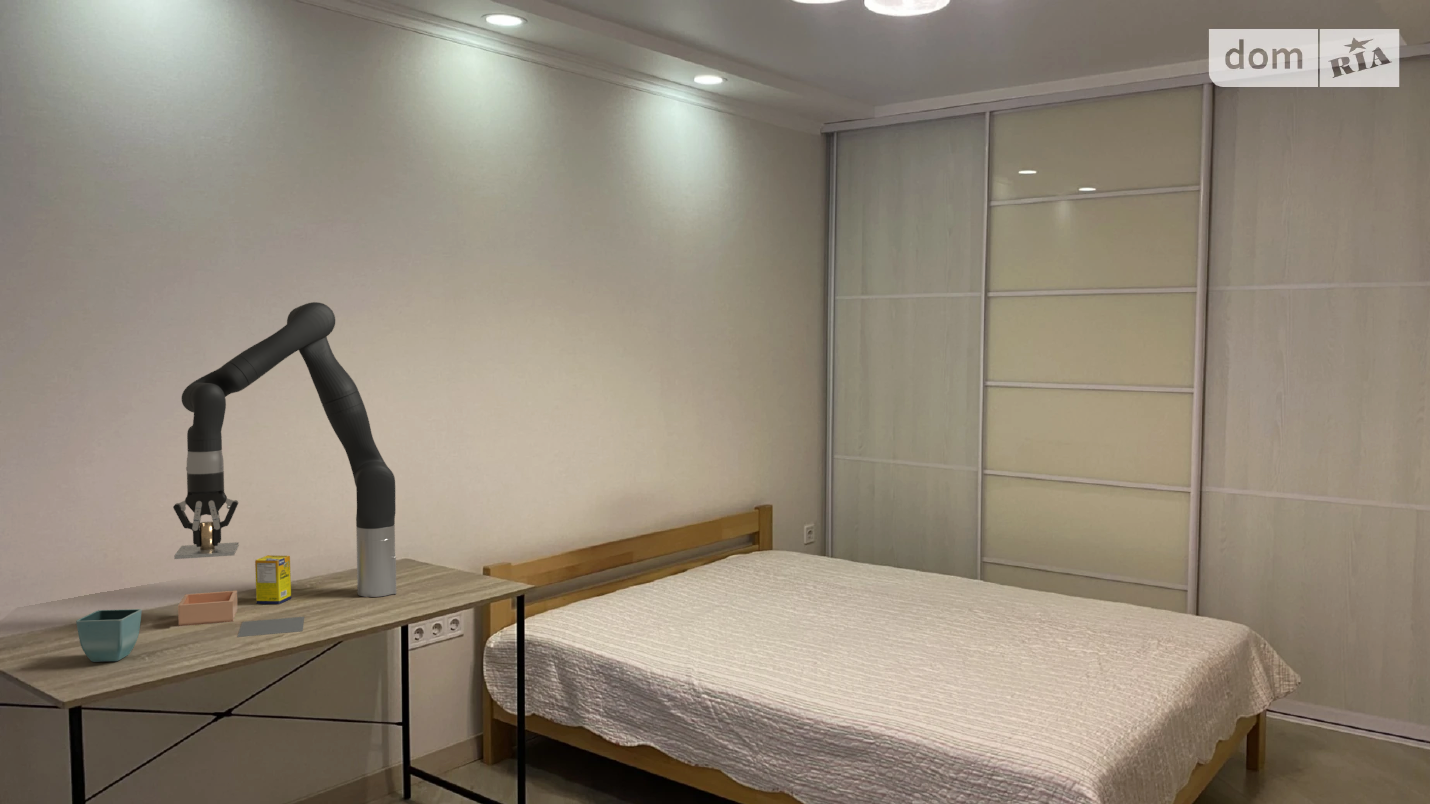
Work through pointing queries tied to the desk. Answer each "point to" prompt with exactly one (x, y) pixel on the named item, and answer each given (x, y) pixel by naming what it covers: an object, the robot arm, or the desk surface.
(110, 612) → the flower pot
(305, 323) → the robot arm
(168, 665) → the desk surface
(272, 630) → the mat
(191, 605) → the open box
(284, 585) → the supplement box
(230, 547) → the lid
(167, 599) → the desk surface
